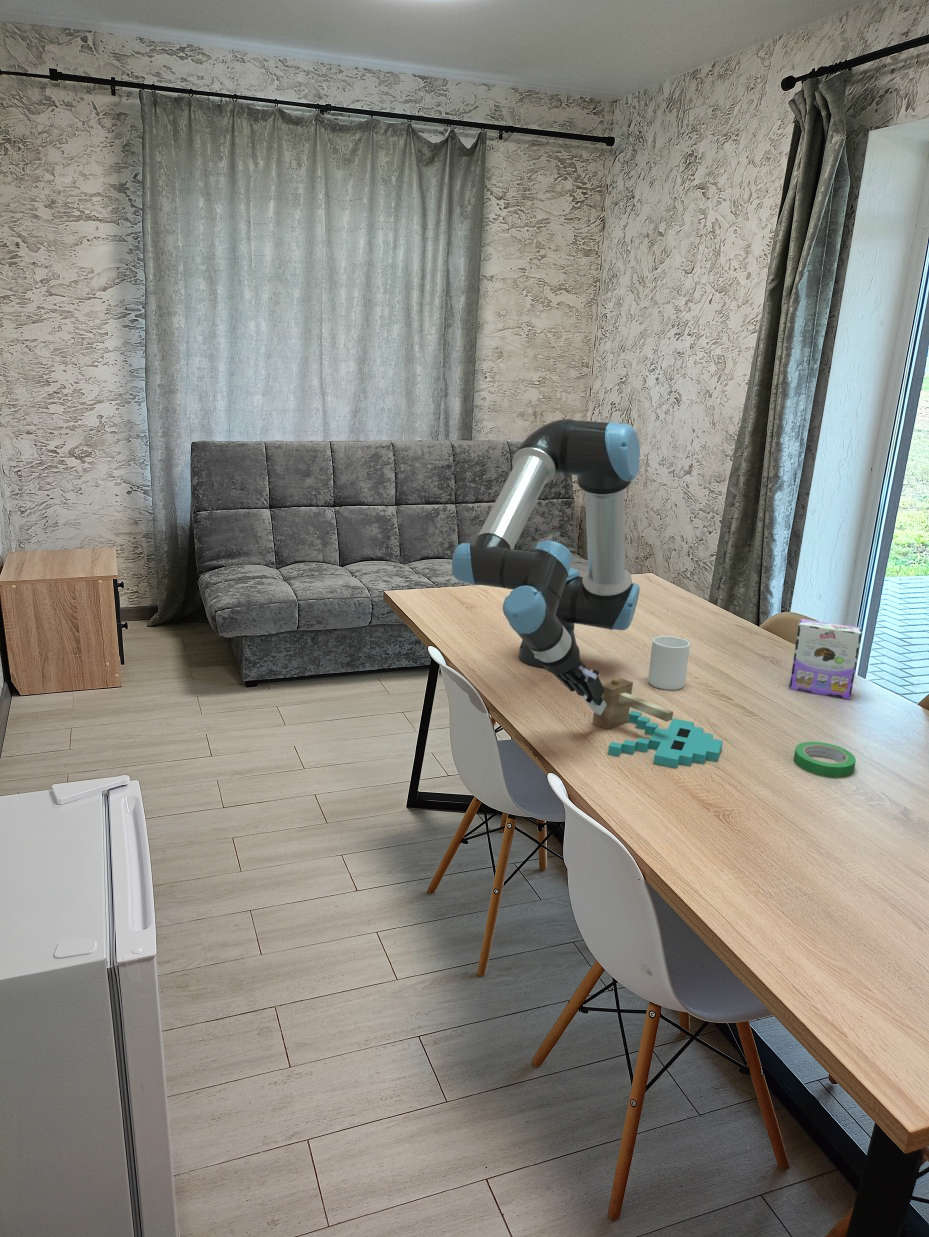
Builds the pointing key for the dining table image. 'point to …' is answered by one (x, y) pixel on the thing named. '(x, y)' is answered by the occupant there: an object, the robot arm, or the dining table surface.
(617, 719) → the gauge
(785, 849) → the dining table surface
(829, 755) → the tape roll
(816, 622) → the candy box
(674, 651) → the mug
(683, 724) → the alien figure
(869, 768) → the dining table surface
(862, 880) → the dining table surface
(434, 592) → the dining table surface
